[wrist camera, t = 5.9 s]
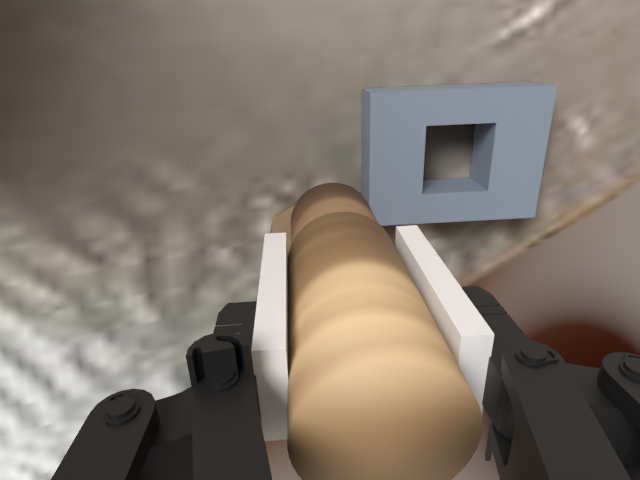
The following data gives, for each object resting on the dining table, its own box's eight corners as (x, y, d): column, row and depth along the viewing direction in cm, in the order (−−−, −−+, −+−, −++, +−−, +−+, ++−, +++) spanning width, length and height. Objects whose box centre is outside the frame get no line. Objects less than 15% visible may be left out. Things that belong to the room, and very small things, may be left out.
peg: (284, 182, 19) (280, 369, 8) (376, 177, 19) (494, 353, 8) (290, 265, 21) (293, 513, 10) (374, 259, 21) (471, 497, 10)
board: (362, 88, 36) (370, 92, 32) (530, 81, 36) (557, 85, 33) (361, 210, 40) (368, 226, 36) (512, 202, 41) (534, 217, 37)
